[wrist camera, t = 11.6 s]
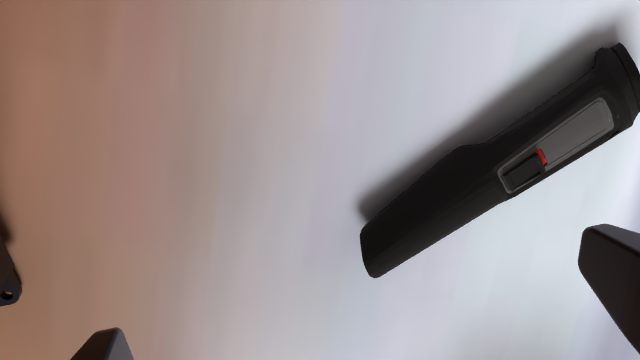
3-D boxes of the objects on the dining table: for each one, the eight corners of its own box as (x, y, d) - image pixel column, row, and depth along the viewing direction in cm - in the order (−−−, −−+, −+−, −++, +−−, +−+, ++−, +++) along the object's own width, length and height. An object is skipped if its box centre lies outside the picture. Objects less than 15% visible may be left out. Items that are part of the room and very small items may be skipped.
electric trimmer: (333, 213, 24) (349, 250, 22) (611, 33, 23) (666, 47, 20) (369, 261, 26) (388, 301, 23) (630, 97, 25) (682, 118, 22)
